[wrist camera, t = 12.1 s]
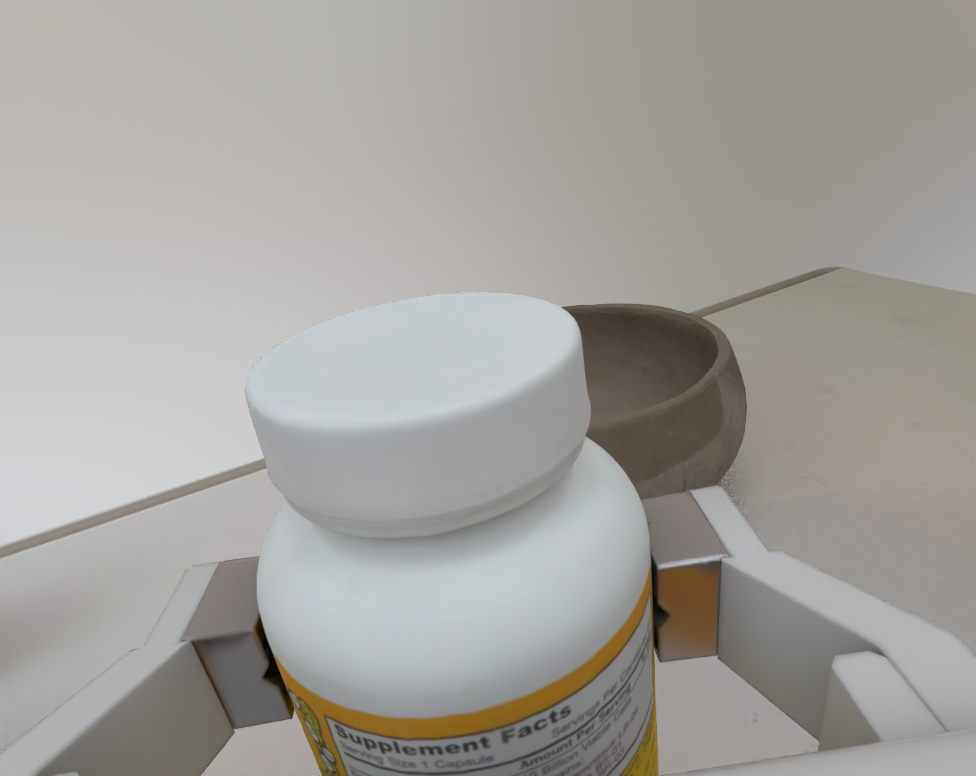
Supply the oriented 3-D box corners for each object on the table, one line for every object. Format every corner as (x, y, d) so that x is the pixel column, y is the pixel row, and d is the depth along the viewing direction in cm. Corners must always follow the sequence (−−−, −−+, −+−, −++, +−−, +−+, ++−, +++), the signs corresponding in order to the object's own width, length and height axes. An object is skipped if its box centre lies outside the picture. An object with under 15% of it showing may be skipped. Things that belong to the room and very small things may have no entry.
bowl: (399, 504, 40) (365, 367, 36) (585, 402, 49) (576, 283, 45) (594, 660, 28) (579, 477, 23) (796, 483, 37) (812, 328, 32)
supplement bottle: (685, 1029, 9) (685, 450, 4) (326, 997, 9) (45, 487, 5) (641, 689, 13) (622, 259, 9) (406, 689, 14) (292, 294, 10)
